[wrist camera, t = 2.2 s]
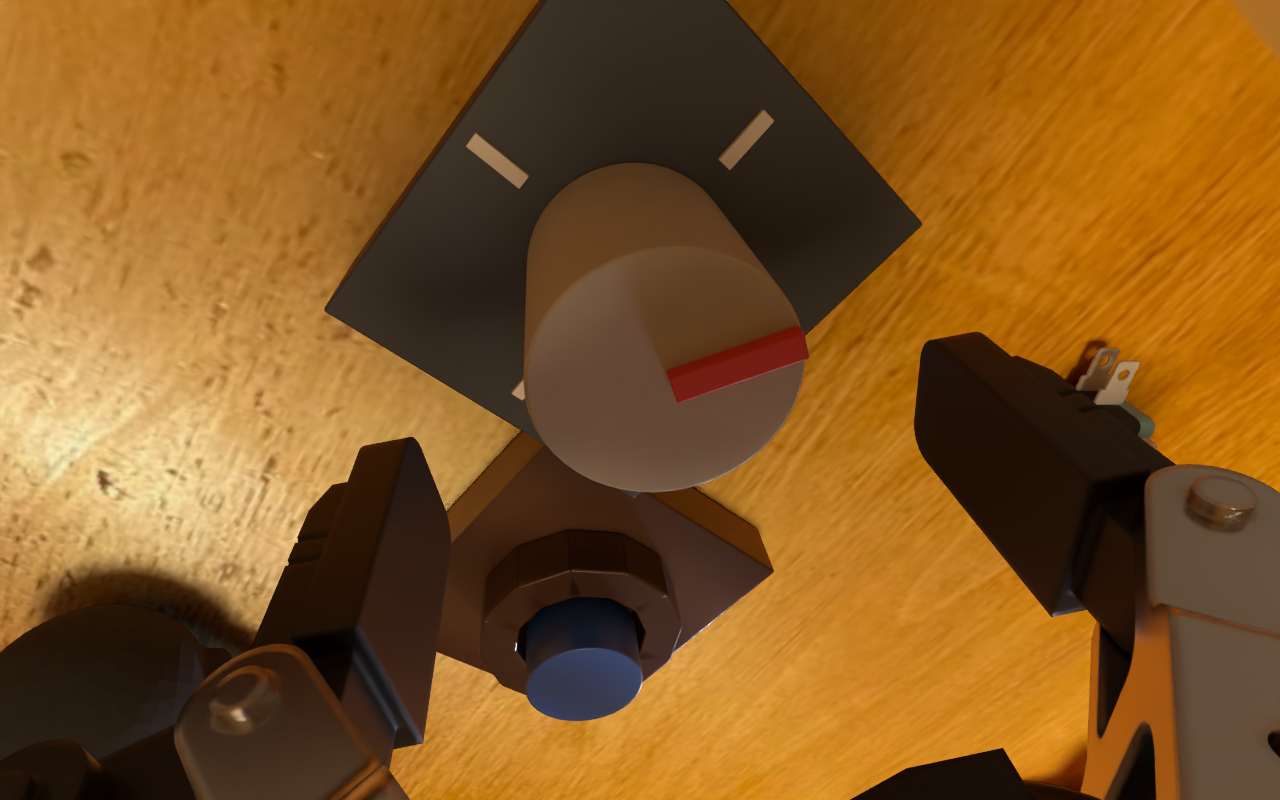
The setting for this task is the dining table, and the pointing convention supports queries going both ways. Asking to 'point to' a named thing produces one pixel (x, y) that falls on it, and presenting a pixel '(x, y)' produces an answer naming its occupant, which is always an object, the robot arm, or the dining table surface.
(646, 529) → the switch block
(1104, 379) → the push button
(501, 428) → the dining table surface
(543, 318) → the dimmer
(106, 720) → the light bulb
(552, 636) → the switch button
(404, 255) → the dimmer panel
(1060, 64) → the dining table surface
